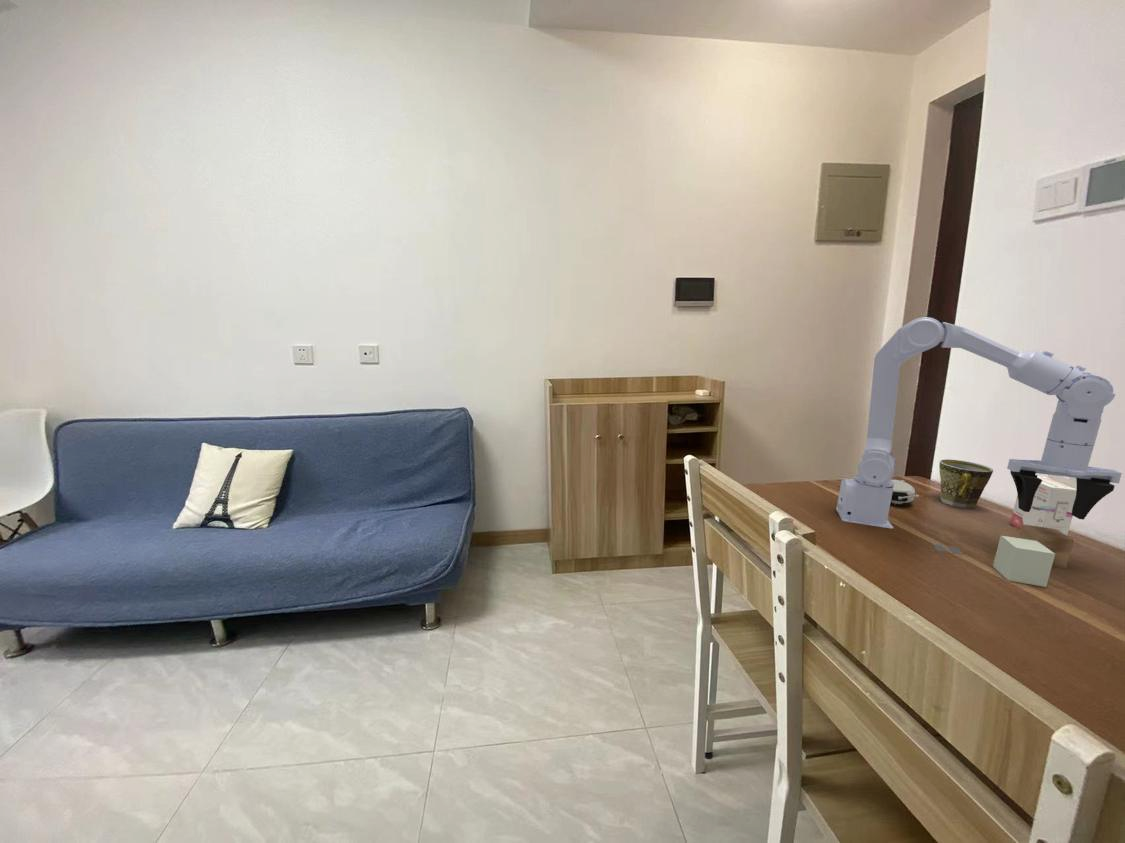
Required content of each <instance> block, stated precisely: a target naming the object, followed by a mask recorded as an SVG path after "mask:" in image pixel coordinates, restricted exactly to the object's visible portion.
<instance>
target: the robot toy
mask: <svg viewBox="0 0 1125 843" xmlns="http://www.w3.org/2000/svg"><path fill="white" fill-rule="evenodd" d="M848 479H851V478H850V477H849V478H848ZM842 480H843V479H841V480H840V481H841V482H842ZM891 480H892V481H893V482H894V488H893V493H892V498H891V502H892V503H891V504H893V503H896V504H899V505H902V504H905V503H911V502H913V501H914V500H915V498H918V497H920V495H919V494H916V490H915V488H914V487H913V486H912V485H911V484H909V483H908V482H905V480H904V479H901V480H899V479H891ZM896 504H895V505H896Z"/></svg>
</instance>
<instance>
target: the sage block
mask: <svg viewBox="0 0 1125 843" xmlns="http://www.w3.org/2000/svg"><path fill="white" fill-rule="evenodd" d="M995 552H996V553H995V557H994V560H993V565H992V567H993V568H994V569H995V570H996V571H997V572H998V573H999V574H1001V576H1002V577H1004V578H1005V579H1006V580H1007V581H1008V582H1015V583H1019V584H1027V585H1033V586H1036V587H1037V586H1038V587H1042V588H1047V585H1048V582H1049V578H1050V574H1051V571H1052V564H1053V560H1054V557H1055V553H1053V552H1052V551H1051V550H1049V549H1048V548H1046V547H1045V546H1043V545H1042V544H1041V543H1039V542H1038V541H1034V540H1027V539H1021V538H1019V537H1013V536H1008V535H1007V536H1006V535H1000V537H999V540H998V545H997V550H996V551H995Z"/></svg>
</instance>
